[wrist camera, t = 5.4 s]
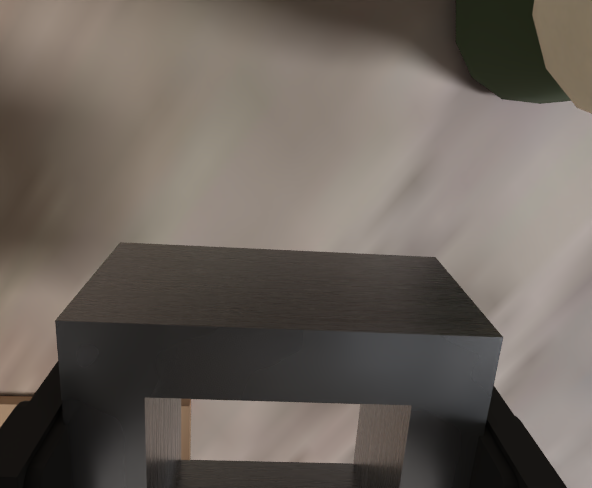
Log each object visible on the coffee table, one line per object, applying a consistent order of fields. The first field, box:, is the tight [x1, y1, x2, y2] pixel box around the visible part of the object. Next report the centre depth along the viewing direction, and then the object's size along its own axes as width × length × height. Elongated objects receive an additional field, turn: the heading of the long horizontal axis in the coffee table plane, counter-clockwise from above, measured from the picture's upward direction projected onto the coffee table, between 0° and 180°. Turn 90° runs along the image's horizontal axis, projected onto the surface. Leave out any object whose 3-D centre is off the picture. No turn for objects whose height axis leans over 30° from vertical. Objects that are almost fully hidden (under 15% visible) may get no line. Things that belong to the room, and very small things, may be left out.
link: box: [55, 243, 503, 488], centre depth 11 cm, size 6×6×4 cm
